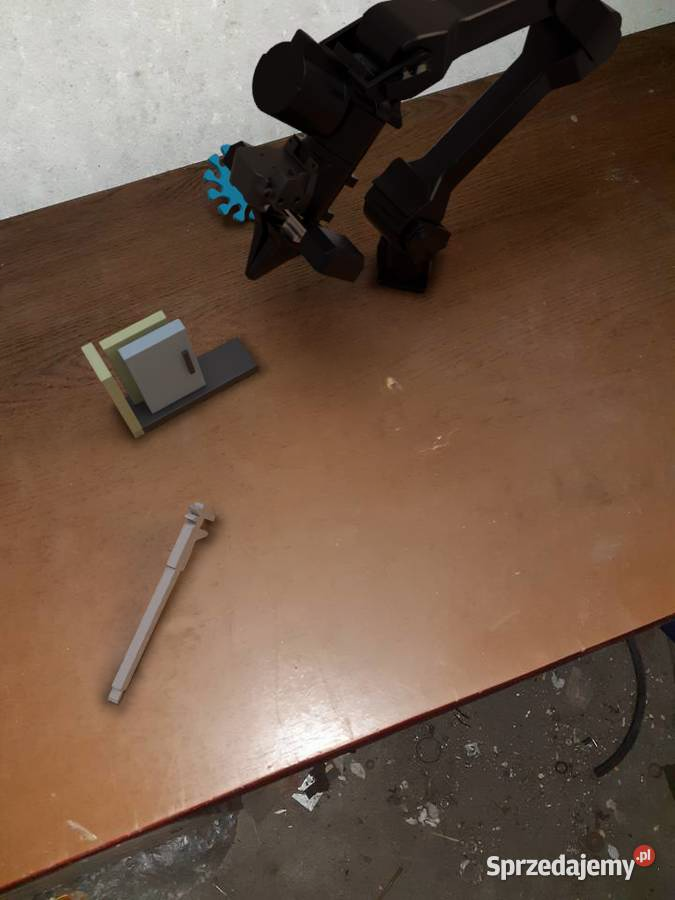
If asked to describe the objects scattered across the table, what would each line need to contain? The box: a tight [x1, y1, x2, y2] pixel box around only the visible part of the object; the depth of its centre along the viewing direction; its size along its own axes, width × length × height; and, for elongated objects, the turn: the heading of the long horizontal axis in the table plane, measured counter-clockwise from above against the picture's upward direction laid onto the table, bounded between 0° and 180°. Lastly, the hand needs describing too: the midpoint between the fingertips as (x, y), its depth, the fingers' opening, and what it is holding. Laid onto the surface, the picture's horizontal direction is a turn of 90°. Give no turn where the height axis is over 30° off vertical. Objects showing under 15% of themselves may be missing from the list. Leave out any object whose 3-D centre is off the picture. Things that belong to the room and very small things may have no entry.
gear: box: [202, 143, 255, 223], centre depth 94 cm, size 11×6×10 cm
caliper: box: [107, 501, 216, 705], centre depth 67 cm, size 20×1×6 cm, turn 157°
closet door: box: [118, 318, 206, 414], centre depth 75 cm, size 7×2×11 cm, turn 124°
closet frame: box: [80, 309, 260, 439], centre depth 76 cm, size 16×5×12 cm, turn 124°
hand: (249, 277), depth 73 cm, fingers closed
